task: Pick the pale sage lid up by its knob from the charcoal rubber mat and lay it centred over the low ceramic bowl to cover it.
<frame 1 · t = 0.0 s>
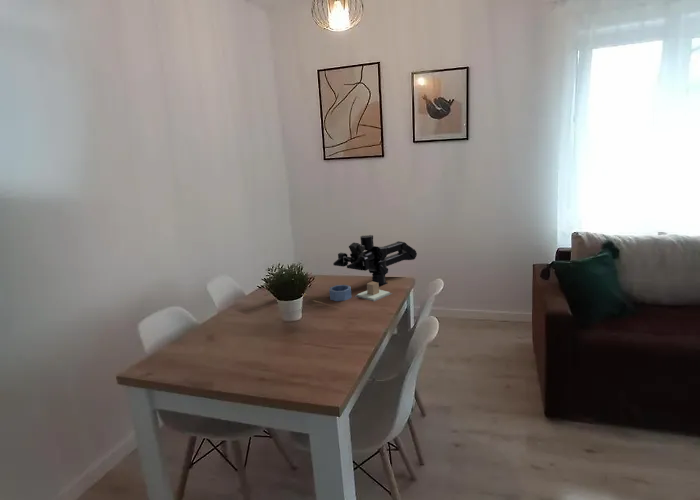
hand: (340, 265, 213), 17 cm above the table, tool horizontal, fingers open, 9 cm apart
wooden mug: (294, 298, 224), on the table
lid: (373, 294, 217), resting on mat
mat: (373, 295, 218), on the table
bowl: (341, 298, 218), on the table
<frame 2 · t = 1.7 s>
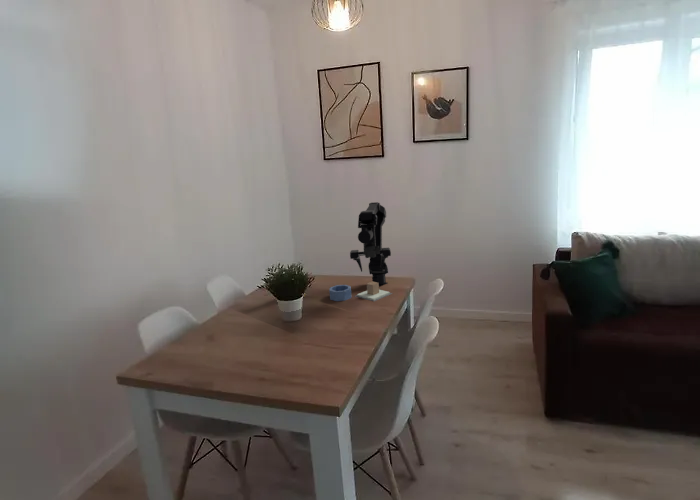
hand: (371, 270, 215), 12 cm above the table, tool pointing down, fingers open, 9 cm apart
nothing on the table moved.
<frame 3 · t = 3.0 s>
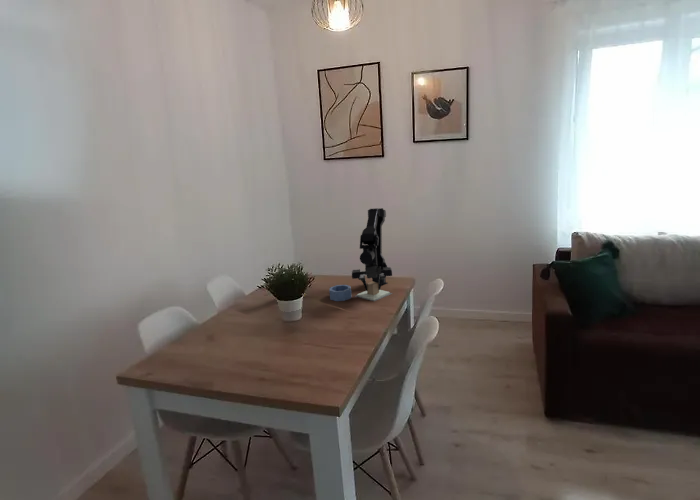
hand: (373, 290, 217), 3 cm above the table, tool pointing down, fingers closed on lid, 6 cm apart
lid: (373, 294, 217), resting on mat, touching gripper
everything else where it was.
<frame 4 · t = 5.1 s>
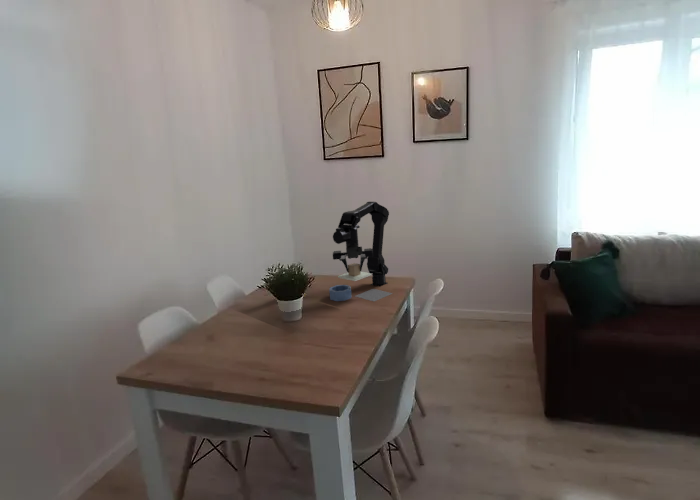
hand: (354, 271, 215), 13 cm above the table, tool pointing down, fingers closed on lid, 6 cm apart
lid: (354, 276, 215), point 10 cm above the table, touching gripper
everything else where it was.
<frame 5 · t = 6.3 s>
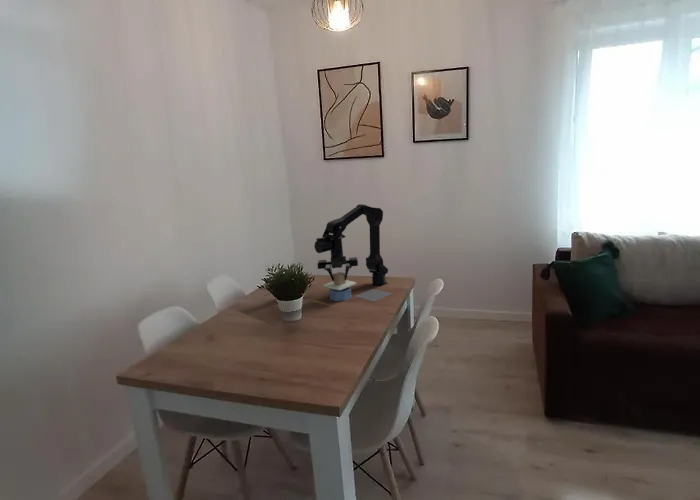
hand: (339, 280, 216), 9 cm above the table, tool pointing down, fingers closed on lid, 6 cm apart
lid: (339, 285, 217), point 7 cm above the table, touching gripper
everything else where it was.
when the fingers open (9 cm above the table, at t = 7.0 s): lid drops 1 cm, resting on bowl.
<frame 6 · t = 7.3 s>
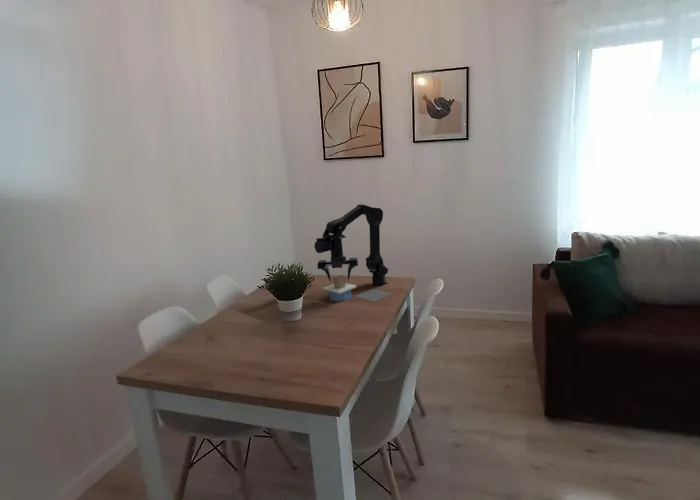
hand: (339, 280, 216), 9 cm above the table, tool pointing down, fingers open, 8 cm apart
lid: (340, 288, 217), point 5 cm above the table, touching bowl
everything else where it was.
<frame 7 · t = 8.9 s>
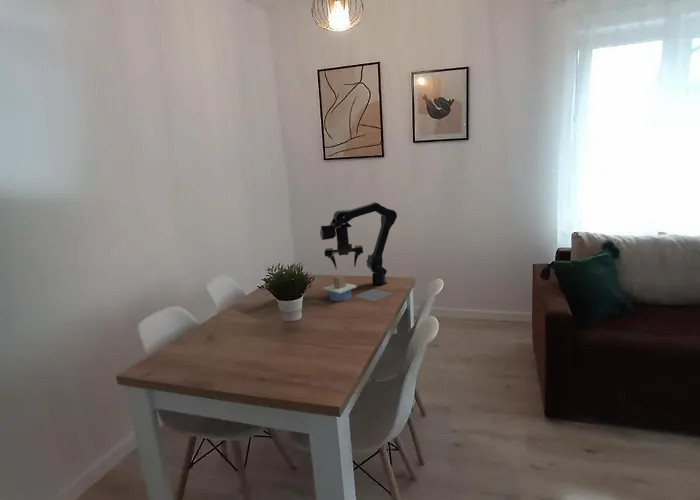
hand: (345, 267, 226), 12 cm above the table, tool pointing down, fingers open, 9 cm apart
nothing on the table moved.
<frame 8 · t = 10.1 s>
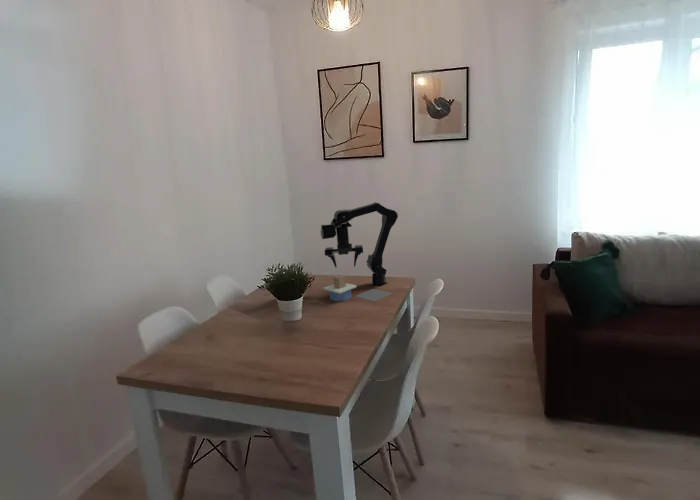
hand: (345, 267, 226), 12 cm above the table, tool pointing down, fingers open, 9 cm apart
nothing on the table moved.
at the end: lid 0.1 cm off-centre on the bowl, point 5.0 cm above the bowl's base; lid tilted 0°; the gripper is holding nothing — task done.
